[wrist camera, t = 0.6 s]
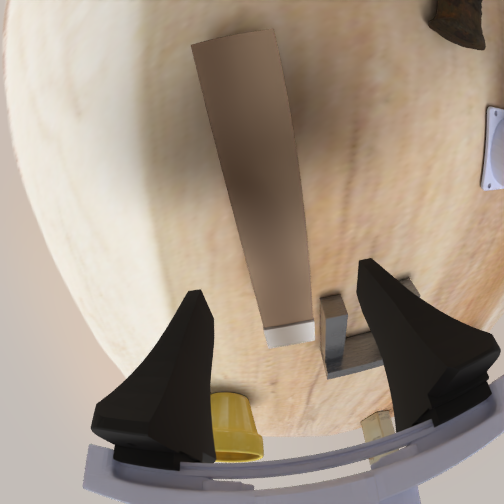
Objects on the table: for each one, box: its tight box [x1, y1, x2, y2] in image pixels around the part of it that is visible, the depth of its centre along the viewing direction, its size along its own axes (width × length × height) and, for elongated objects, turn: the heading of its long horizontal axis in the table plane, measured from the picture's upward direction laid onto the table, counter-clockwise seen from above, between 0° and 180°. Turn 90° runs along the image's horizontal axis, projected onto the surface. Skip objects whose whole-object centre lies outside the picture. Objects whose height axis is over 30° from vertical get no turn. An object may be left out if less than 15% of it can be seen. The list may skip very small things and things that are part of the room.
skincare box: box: [361, 411, 399, 465], centre depth 45 cm, size 6×4×12 cm
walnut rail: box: [191, 29, 315, 348], centre depth 16 cm, size 4×20×5 cm, turn 11°
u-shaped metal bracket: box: [320, 278, 420, 379], centre depth 25 cm, size 10×9×4 cm
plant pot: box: [210, 392, 264, 462], centre depth 33 cm, size 10×10×10 cm
